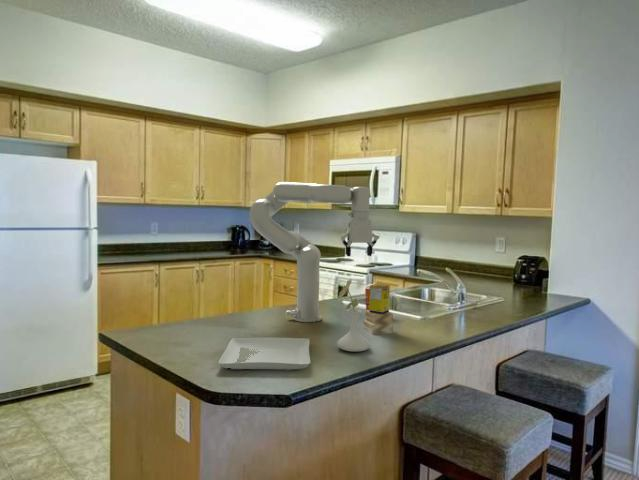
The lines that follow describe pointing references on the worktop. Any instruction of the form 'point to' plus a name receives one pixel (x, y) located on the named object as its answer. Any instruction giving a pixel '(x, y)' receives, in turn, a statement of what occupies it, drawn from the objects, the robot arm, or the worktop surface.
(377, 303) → the supplement box
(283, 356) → the square plate
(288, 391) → the worktop surface
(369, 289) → the paper cup
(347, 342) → the flower in vase
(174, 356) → the worktop surface
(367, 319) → the maple top block
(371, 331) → the birch base block
